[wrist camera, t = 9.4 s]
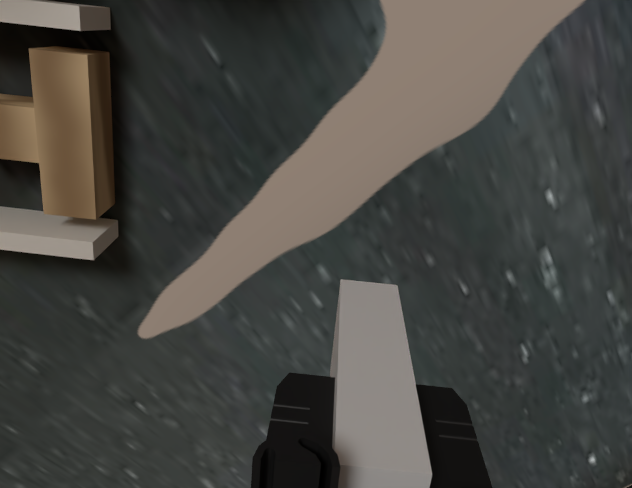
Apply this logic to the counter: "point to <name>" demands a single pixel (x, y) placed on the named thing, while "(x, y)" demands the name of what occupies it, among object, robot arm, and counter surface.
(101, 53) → the tee
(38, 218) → the bay
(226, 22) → the counter surface
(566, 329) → the counter surface
